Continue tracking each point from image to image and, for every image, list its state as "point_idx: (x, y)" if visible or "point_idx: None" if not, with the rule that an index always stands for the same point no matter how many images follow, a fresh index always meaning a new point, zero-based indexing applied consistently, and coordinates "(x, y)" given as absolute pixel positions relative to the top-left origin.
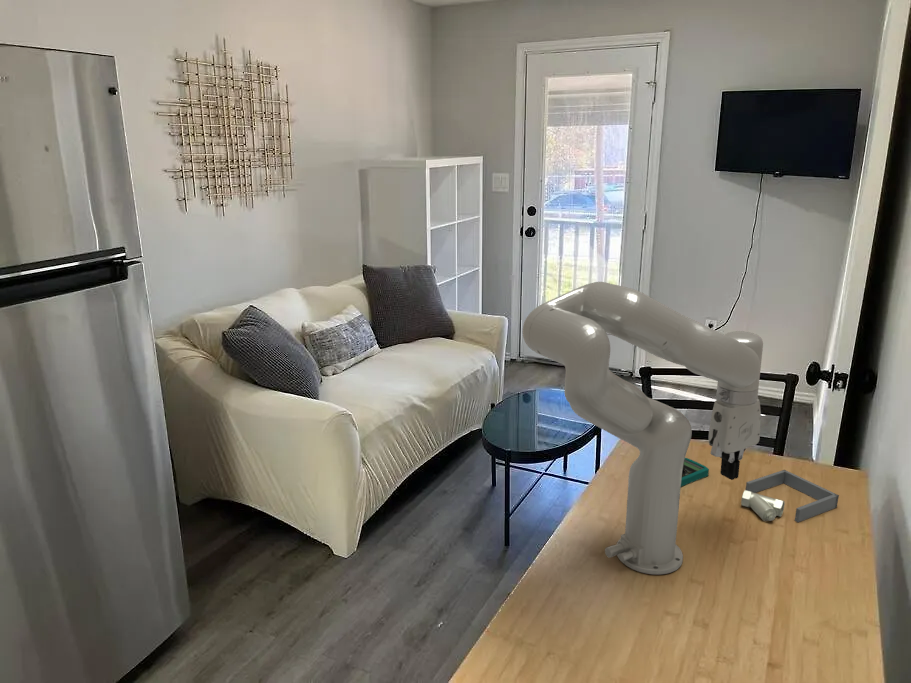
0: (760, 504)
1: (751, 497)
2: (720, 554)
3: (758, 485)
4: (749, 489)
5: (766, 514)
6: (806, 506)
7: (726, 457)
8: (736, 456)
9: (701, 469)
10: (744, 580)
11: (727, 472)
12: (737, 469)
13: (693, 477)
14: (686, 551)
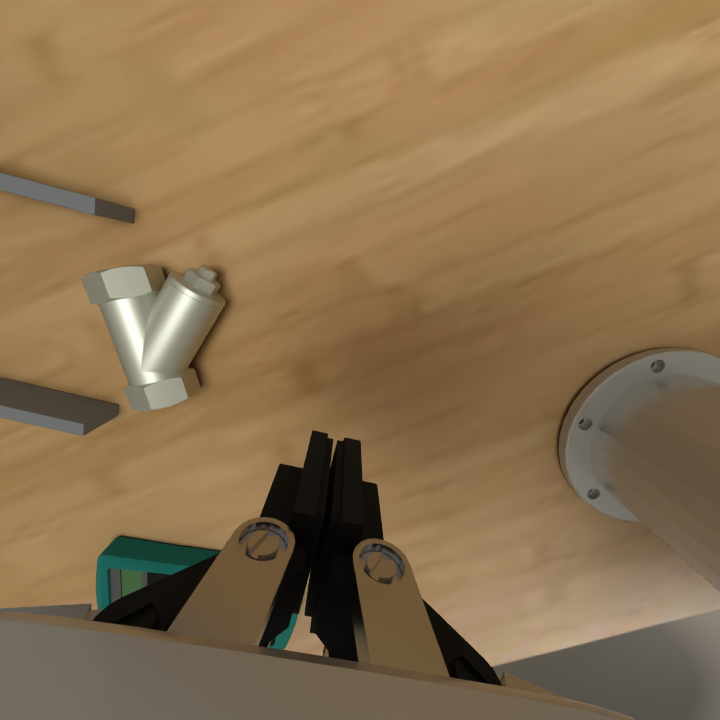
0: (184, 329)
1: (165, 374)
2: (507, 301)
3: (48, 403)
4: (98, 412)
5: (211, 291)
6: (44, 190)
7: (434, 628)
8: (285, 573)
9: (129, 569)
10: (596, 179)
11: (377, 495)
12: (322, 468)
13: (182, 559)
14: (558, 377)
